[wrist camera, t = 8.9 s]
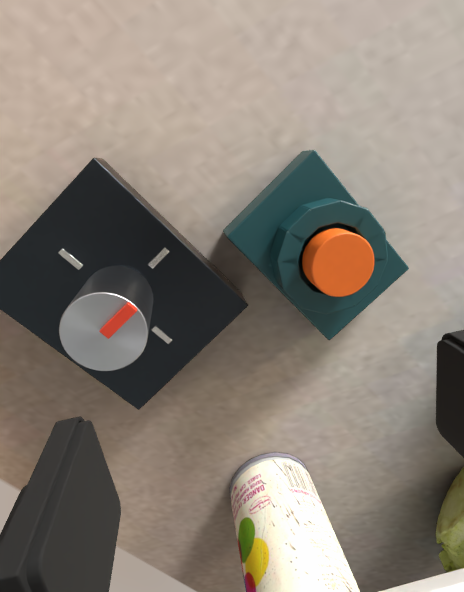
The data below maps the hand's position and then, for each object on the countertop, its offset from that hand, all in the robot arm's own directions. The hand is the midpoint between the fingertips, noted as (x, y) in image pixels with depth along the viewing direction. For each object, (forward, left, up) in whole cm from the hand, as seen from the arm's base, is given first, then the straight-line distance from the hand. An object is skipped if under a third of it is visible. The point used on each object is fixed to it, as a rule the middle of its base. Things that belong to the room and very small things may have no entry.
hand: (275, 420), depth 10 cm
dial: (-3, -5, -14) cm, 15 cm away
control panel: (-3, -5, -16) cm, 17 cm away
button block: (+4, +6, -16) cm, 18 cm away
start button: (+4, +5, -13) cm, 14 cm away
